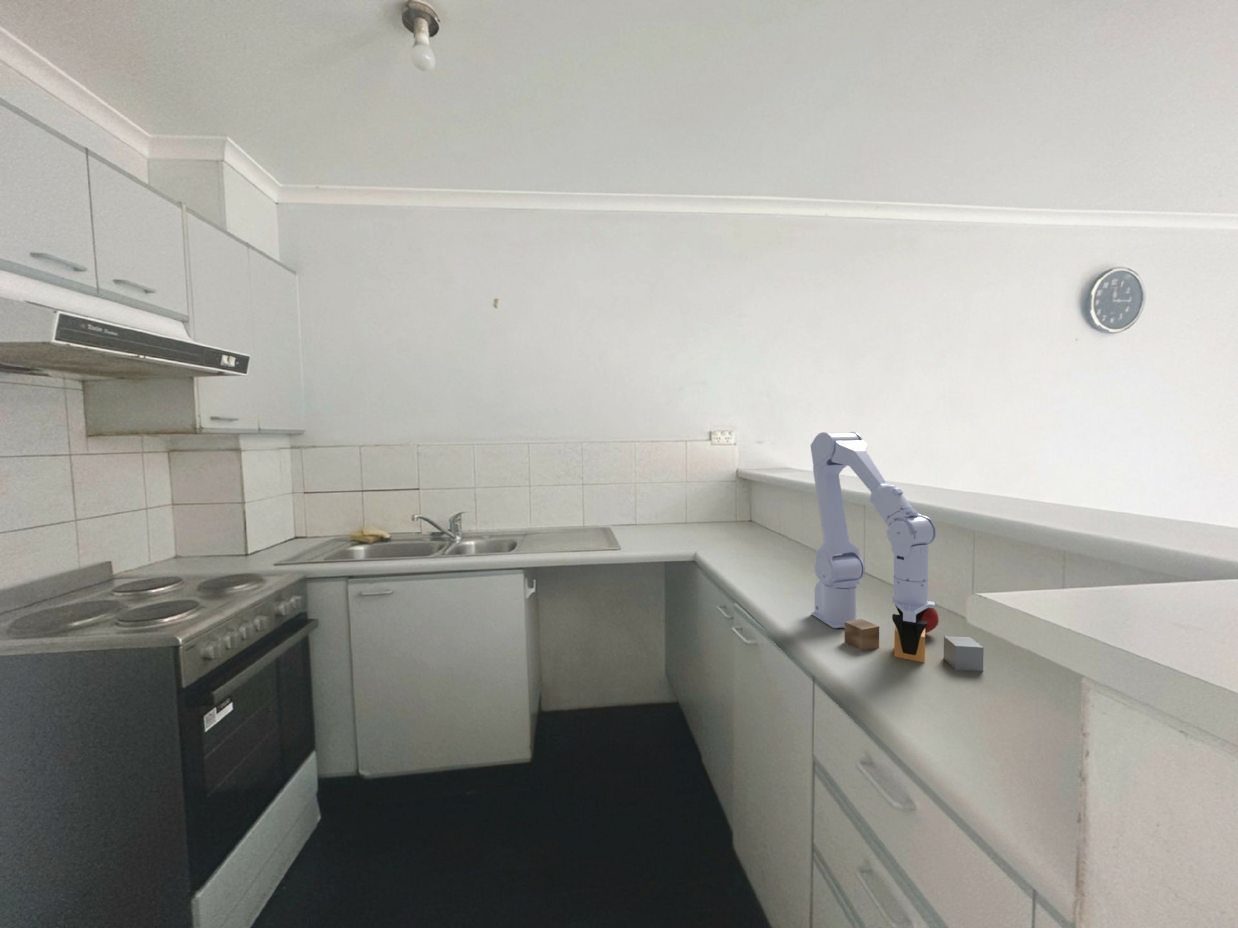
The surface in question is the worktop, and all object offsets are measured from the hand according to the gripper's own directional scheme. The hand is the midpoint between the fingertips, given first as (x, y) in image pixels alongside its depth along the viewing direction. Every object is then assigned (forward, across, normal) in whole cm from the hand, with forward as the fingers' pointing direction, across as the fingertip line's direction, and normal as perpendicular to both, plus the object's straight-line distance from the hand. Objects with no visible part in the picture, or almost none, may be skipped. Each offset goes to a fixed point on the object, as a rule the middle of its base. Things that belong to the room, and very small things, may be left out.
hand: (909, 645), depth 93 cm
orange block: (+2, 0, 0) cm, 2 cm away
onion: (+2, +13, -2) cm, 13 cm away
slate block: (+2, 0, -8) cm, 9 cm away
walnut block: (+2, 0, +8) cm, 9 cm away
